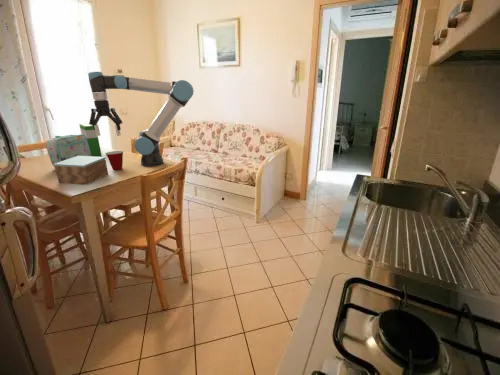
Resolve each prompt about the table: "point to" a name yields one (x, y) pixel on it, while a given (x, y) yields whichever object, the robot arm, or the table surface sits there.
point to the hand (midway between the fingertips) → (108, 135)
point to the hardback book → (91, 139)
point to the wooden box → (82, 173)
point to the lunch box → (67, 147)
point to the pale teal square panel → (79, 161)
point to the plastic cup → (115, 159)
